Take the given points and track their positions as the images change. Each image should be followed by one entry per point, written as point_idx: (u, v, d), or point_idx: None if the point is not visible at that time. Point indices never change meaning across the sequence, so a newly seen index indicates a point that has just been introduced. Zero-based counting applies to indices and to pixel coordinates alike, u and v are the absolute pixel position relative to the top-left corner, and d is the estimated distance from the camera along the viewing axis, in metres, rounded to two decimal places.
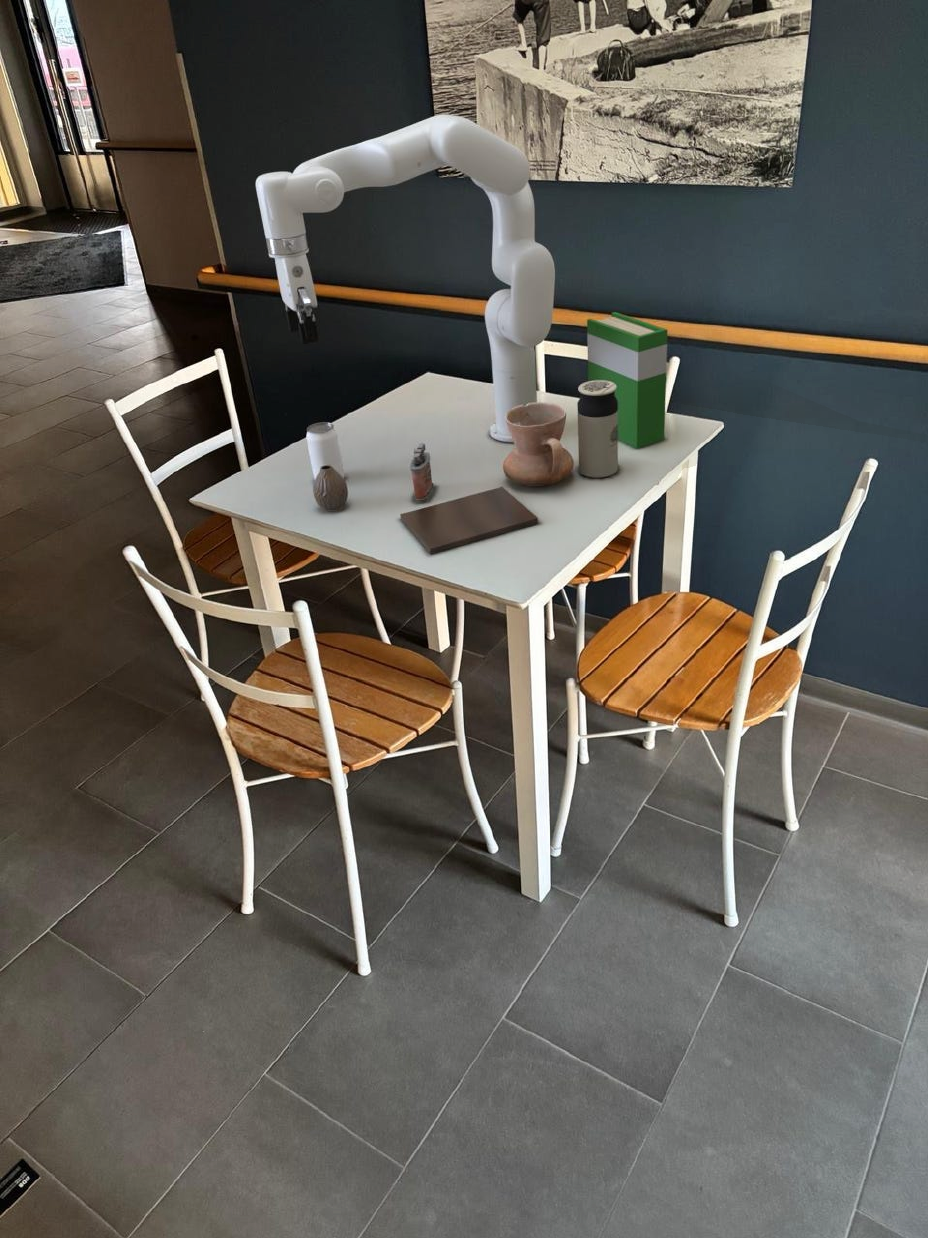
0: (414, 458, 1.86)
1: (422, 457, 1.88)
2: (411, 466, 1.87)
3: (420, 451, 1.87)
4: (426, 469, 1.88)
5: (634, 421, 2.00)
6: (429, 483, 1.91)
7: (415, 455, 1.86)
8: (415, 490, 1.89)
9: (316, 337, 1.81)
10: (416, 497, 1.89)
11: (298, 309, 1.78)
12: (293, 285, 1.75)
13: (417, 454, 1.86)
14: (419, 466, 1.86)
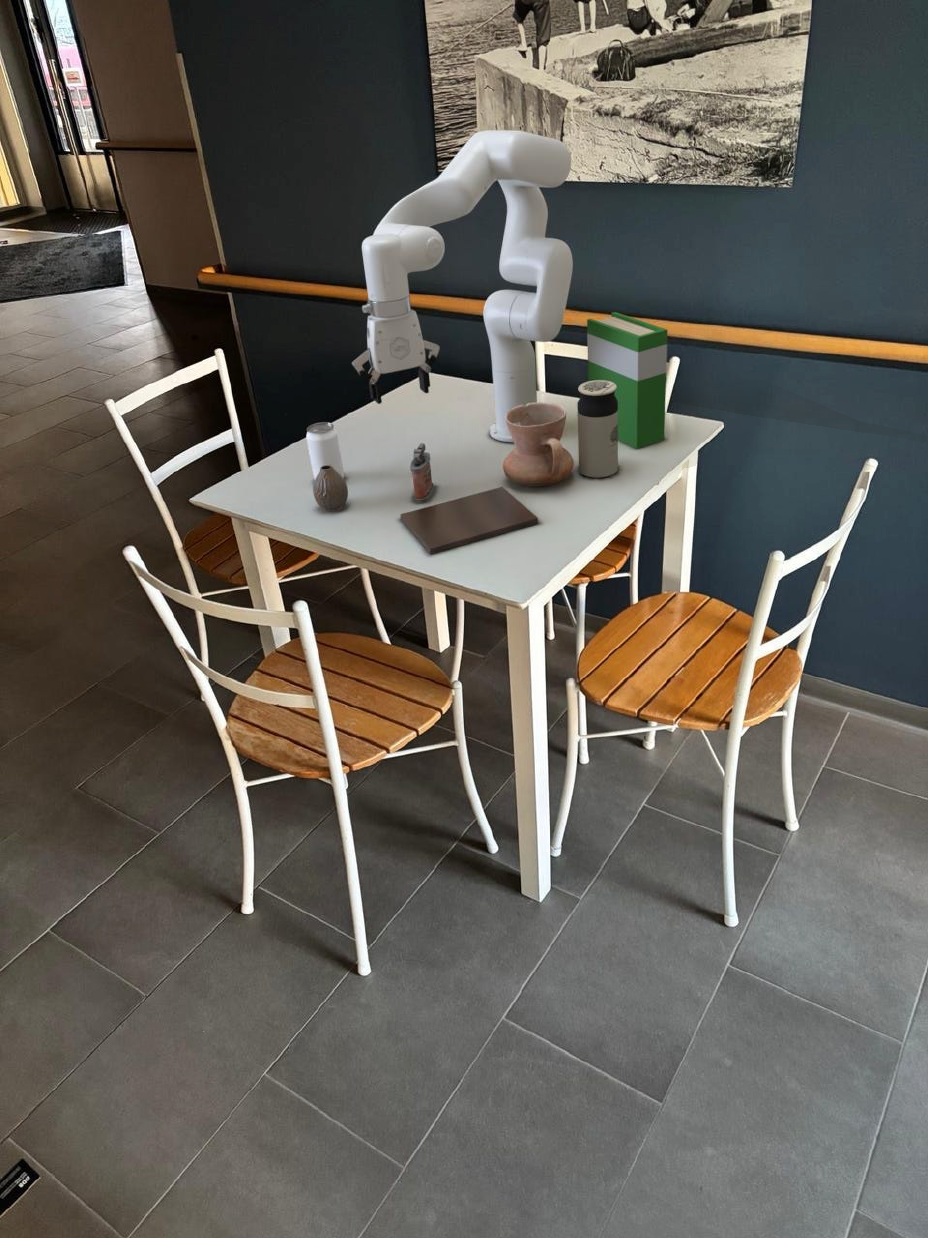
0: (414, 458, 1.86)
1: (422, 457, 1.88)
2: (411, 466, 1.87)
3: (420, 451, 1.87)
4: (426, 469, 1.88)
5: (634, 421, 2.00)
6: (429, 483, 1.91)
7: (415, 455, 1.86)
8: (415, 490, 1.89)
9: (377, 399, 1.79)
10: (416, 497, 1.89)
11: (371, 366, 1.78)
12: (368, 343, 1.76)
13: (417, 454, 1.86)
14: (419, 466, 1.86)
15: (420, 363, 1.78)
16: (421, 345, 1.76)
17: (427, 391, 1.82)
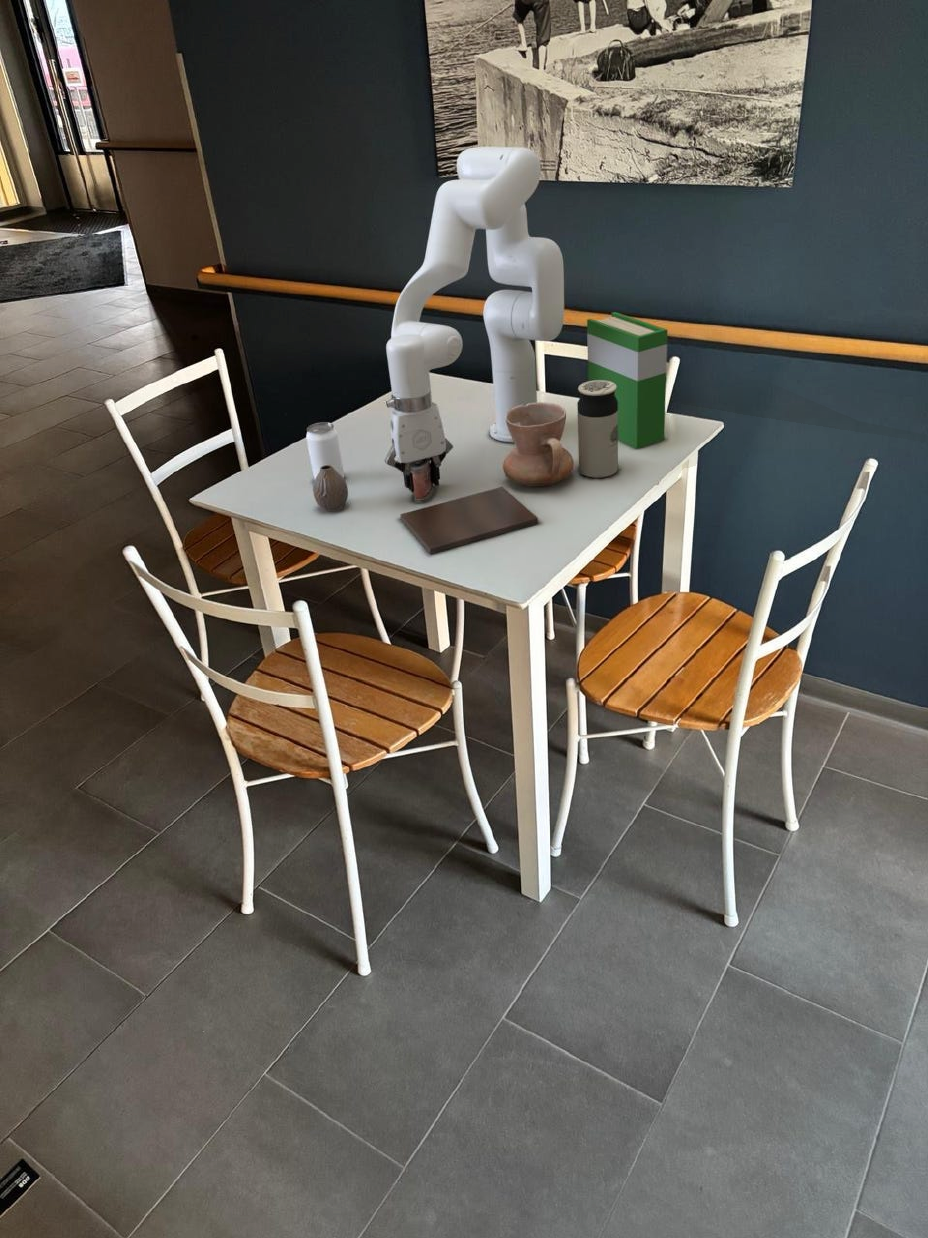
0: None
1: None
2: (411, 466, 1.87)
3: None
4: (426, 469, 1.88)
5: (634, 421, 2.00)
6: (429, 483, 1.91)
7: None
8: (415, 490, 1.89)
9: (411, 489, 1.90)
10: (416, 497, 1.89)
11: None
12: (392, 434, 1.85)
13: None
14: (419, 466, 1.86)
15: (441, 452, 1.87)
16: (442, 435, 1.85)
17: (437, 484, 1.91)
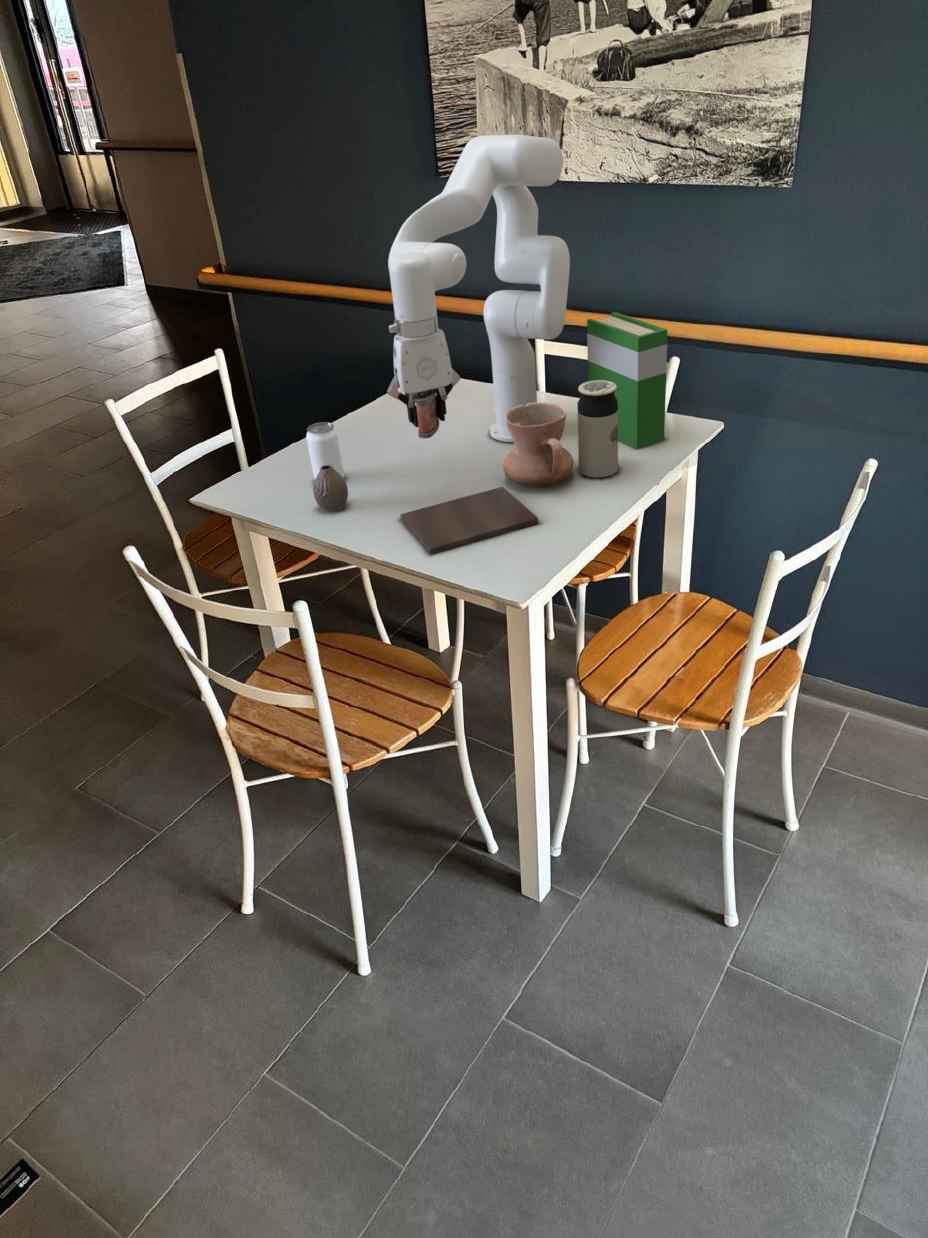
0: None
1: None
2: (416, 398, 1.75)
3: None
4: (432, 402, 1.76)
5: (634, 421, 2.00)
6: (434, 418, 1.79)
7: None
8: (419, 424, 1.76)
9: (415, 423, 1.78)
10: (420, 432, 1.77)
11: None
12: (394, 363, 1.73)
13: None
14: (424, 398, 1.74)
15: (447, 383, 1.74)
16: (448, 365, 1.73)
17: (443, 419, 1.79)
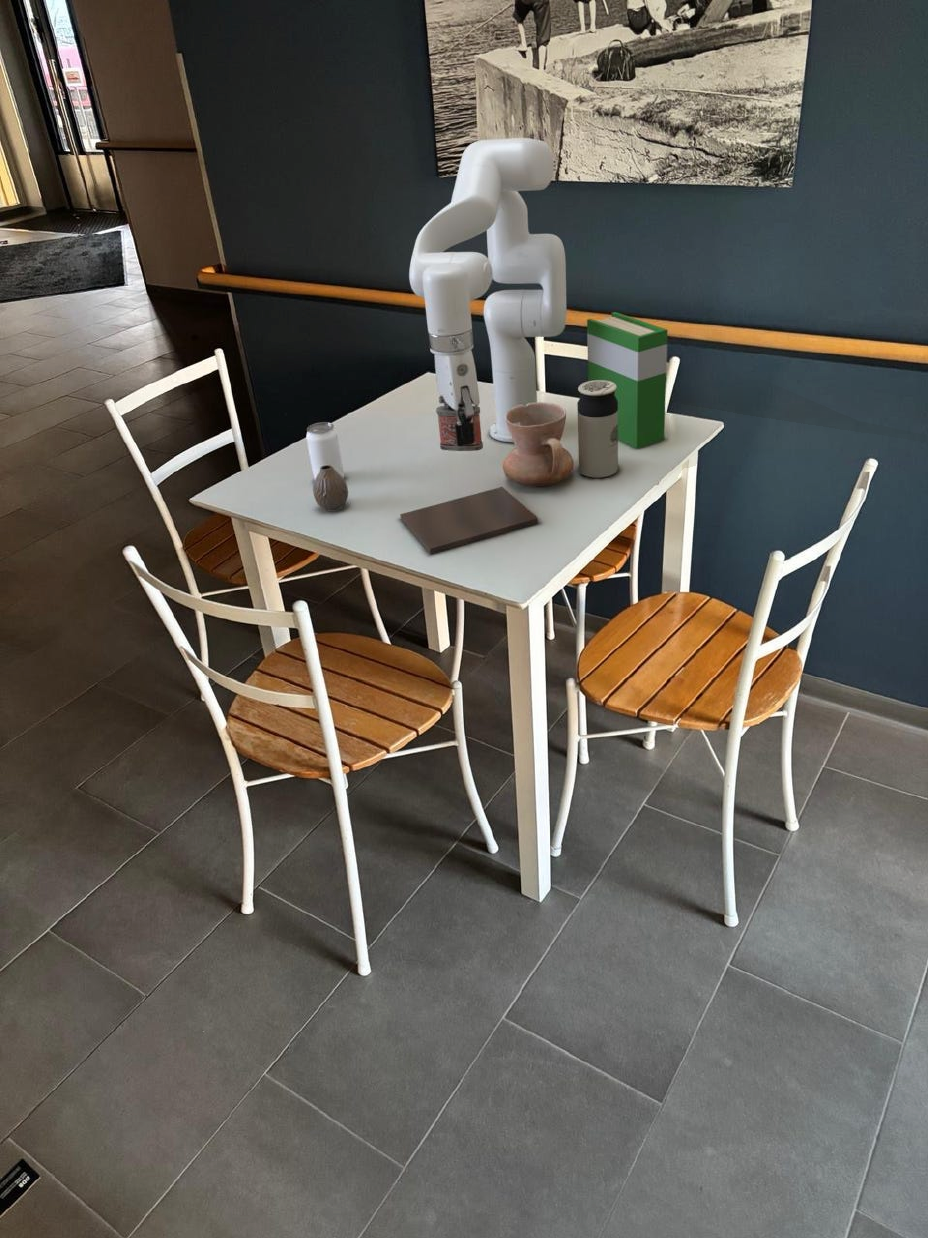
0: None
1: None
2: None
3: None
4: None
5: (634, 421, 2.00)
6: None
7: None
8: (478, 435, 1.70)
9: (472, 439, 1.70)
10: (479, 443, 1.71)
11: (457, 411, 1.65)
12: (456, 384, 1.61)
13: None
14: (473, 407, 1.69)
15: None
16: None
17: None
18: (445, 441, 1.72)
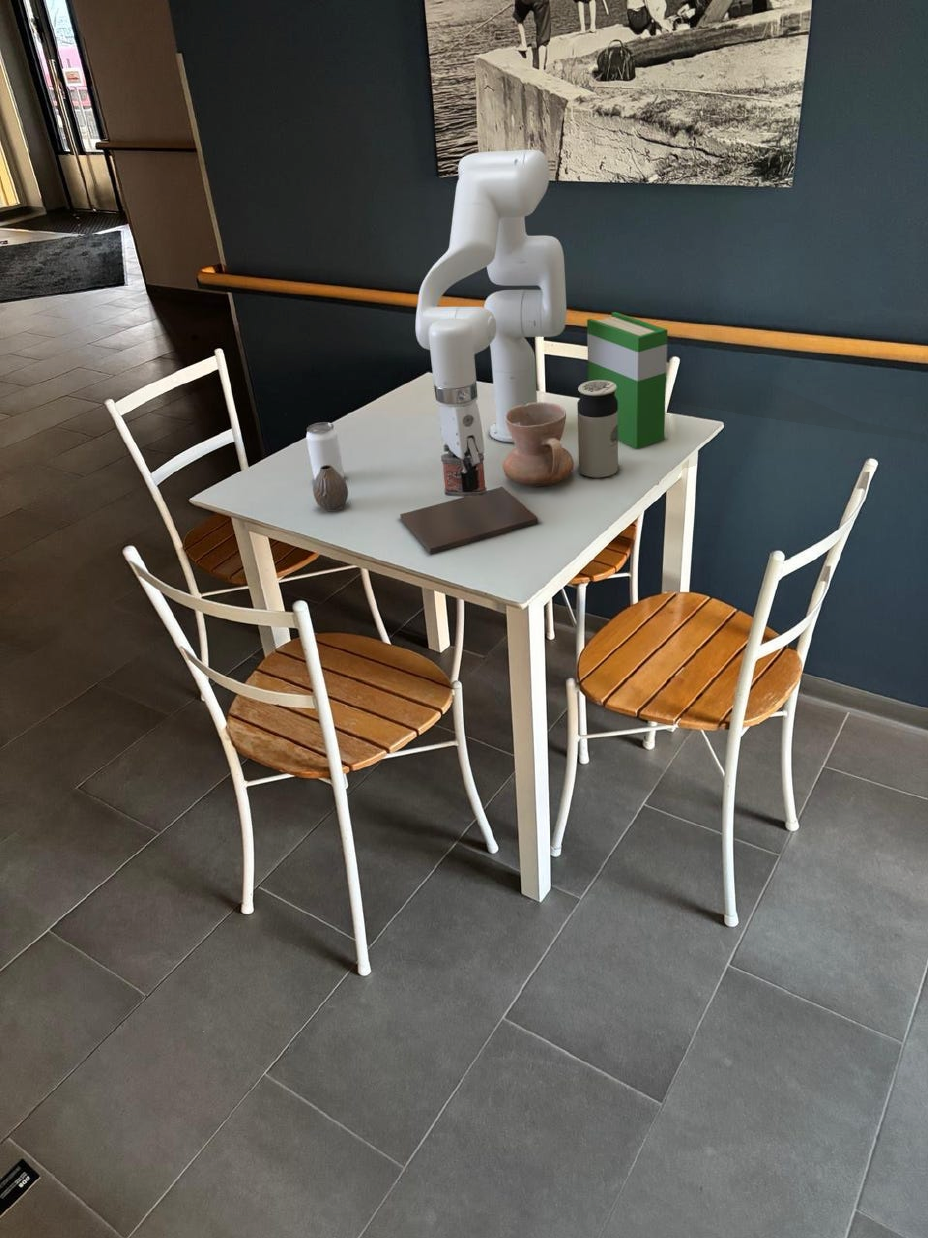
0: None
1: None
2: None
3: None
4: None
5: (634, 421, 2.00)
6: None
7: None
8: (483, 481, 1.75)
9: (476, 485, 1.75)
10: (483, 489, 1.76)
11: (463, 460, 1.70)
12: (462, 434, 1.66)
13: None
14: None
15: None
16: None
17: None
18: (450, 487, 1.77)
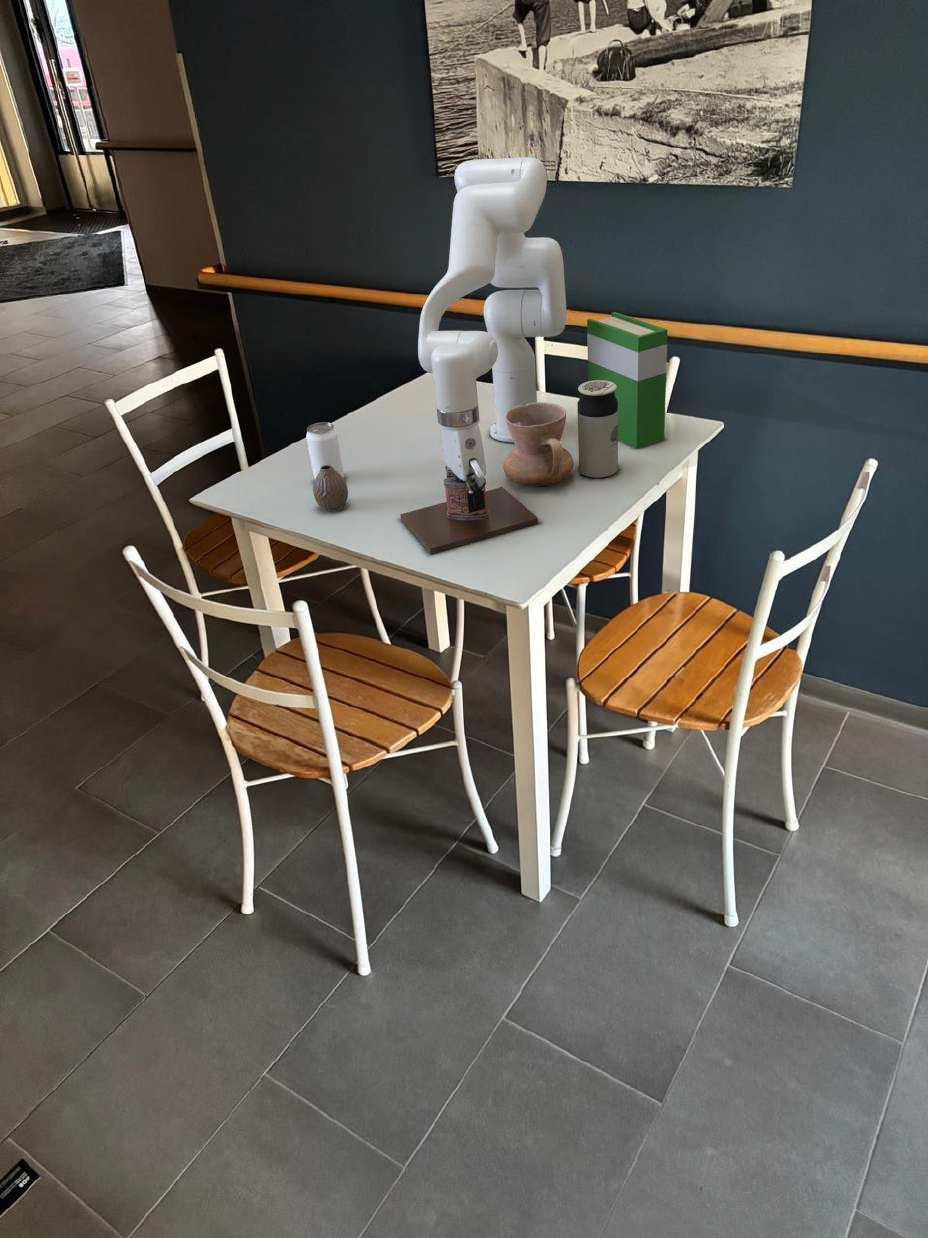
0: None
1: None
2: None
3: None
4: None
5: (634, 421, 2.00)
6: None
7: None
8: (485, 505, 1.78)
9: (483, 505, 1.75)
10: (485, 512, 1.79)
11: (467, 479, 1.71)
12: (465, 457, 1.69)
13: None
14: None
15: None
16: None
17: None
18: (452, 511, 1.79)
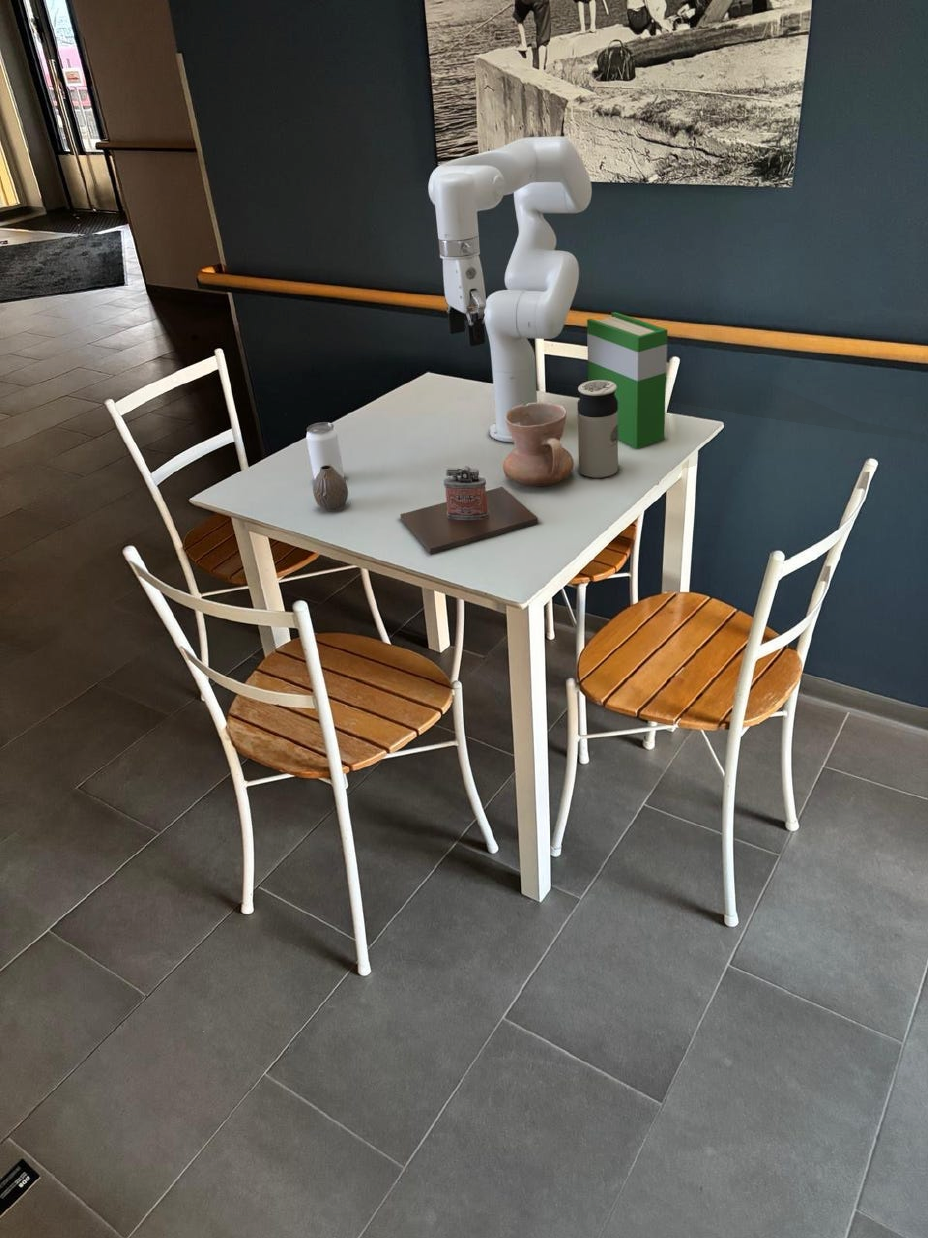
0: (478, 472, 1.75)
1: None
2: (478, 483, 1.75)
3: (468, 467, 1.75)
4: None
5: (634, 421, 2.00)
6: None
7: (475, 470, 1.75)
8: (485, 505, 1.78)
9: (483, 339, 1.80)
10: (485, 512, 1.79)
11: (468, 311, 1.77)
12: (465, 287, 1.74)
13: (473, 469, 1.75)
14: (479, 479, 1.76)
15: None
16: None
17: None
18: (452, 511, 1.79)
